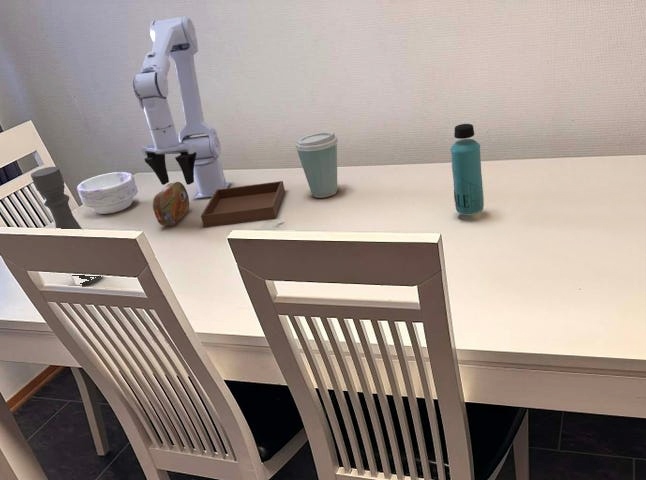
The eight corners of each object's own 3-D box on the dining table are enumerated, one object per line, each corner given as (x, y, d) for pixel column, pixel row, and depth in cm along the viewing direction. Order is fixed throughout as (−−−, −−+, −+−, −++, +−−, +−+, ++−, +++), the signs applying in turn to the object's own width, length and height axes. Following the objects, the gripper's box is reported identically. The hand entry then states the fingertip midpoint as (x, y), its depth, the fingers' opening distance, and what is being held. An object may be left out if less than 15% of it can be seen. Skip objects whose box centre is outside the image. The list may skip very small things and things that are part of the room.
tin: (169, 231, 176) (159, 198, 171) (158, 231, 177) (147, 199, 172) (192, 207, 188) (183, 176, 183) (182, 208, 189) (172, 177, 184)
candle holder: (78, 275, 160) (34, 169, 147) (105, 271, 160) (63, 164, 147) (71, 288, 155) (25, 178, 142) (99, 283, 155) (55, 173, 142)
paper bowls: (152, 197, 199) (143, 170, 195) (116, 219, 188) (106, 191, 184) (112, 196, 206) (102, 170, 201) (75, 217, 195) (64, 190, 190)
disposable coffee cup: (298, 201, 180) (286, 142, 172) (316, 185, 188) (305, 129, 180) (335, 201, 176) (325, 141, 168) (352, 185, 184) (342, 127, 176)
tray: (219, 200, 190) (216, 189, 188) (285, 191, 188) (282, 180, 186) (203, 227, 175) (200, 215, 173) (275, 218, 173) (272, 206, 171)
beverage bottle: (487, 209, 158) (482, 119, 147) (481, 221, 153) (476, 129, 142) (458, 209, 161) (452, 121, 150) (452, 221, 156) (444, 131, 145)
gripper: (126, 132, 165) (144, 189, 172) (176, 130, 159) (192, 188, 166) (145, 124, 170) (162, 179, 177) (194, 122, 164) (209, 179, 171)
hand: (178, 183), depth 172 cm, fingers open, 7 cm apart
